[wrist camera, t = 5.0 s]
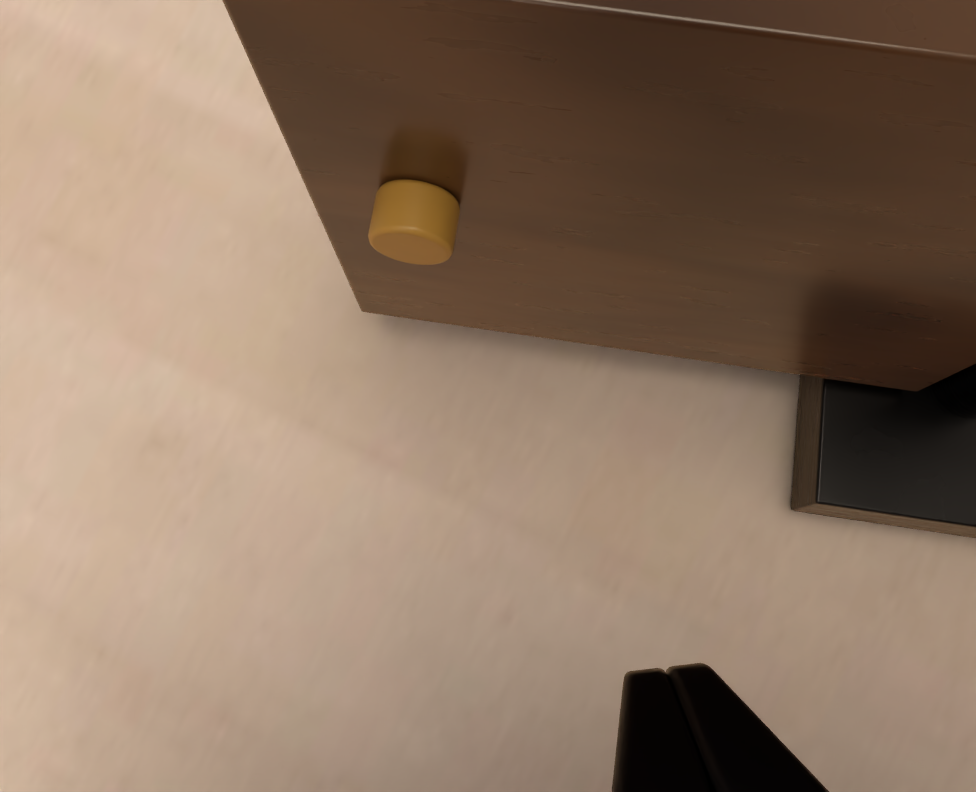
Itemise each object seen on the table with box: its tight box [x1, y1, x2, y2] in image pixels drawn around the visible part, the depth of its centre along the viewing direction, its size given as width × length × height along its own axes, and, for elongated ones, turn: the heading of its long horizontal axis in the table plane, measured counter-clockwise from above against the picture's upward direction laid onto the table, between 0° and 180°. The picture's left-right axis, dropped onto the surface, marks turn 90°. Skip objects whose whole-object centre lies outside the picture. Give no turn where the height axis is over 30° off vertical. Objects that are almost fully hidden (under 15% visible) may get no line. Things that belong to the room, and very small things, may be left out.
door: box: [223, 0, 976, 391], centre depth 13 cm, size 12×2×10 cm, turn 81°
